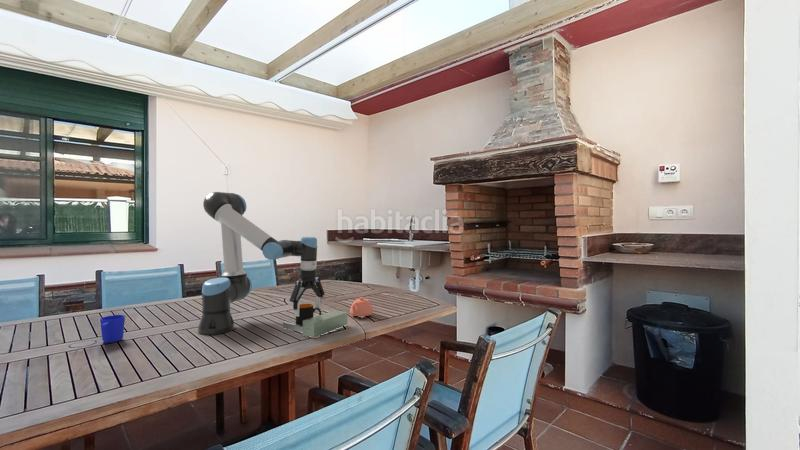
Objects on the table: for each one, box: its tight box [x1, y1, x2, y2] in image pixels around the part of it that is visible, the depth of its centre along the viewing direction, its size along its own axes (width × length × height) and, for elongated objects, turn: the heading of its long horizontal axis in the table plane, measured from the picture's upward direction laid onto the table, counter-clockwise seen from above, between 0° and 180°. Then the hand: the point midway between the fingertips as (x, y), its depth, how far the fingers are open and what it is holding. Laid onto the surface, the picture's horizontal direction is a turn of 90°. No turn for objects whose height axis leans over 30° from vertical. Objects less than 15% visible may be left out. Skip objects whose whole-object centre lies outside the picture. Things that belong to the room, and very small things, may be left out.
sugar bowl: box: [349, 296, 374, 317], centre depth 195 cm, size 12×14×10 cm
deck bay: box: [282, 309, 348, 337], centre depth 174 cm, size 23×22×7 cm
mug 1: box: [99, 314, 126, 344], centre depth 152 cm, size 8×12×10 cm
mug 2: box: [295, 303, 322, 326], centre depth 176 cm, size 8×12×10 cm
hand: (307, 313), depth 176 cm, fingers open, 13 cm apart
